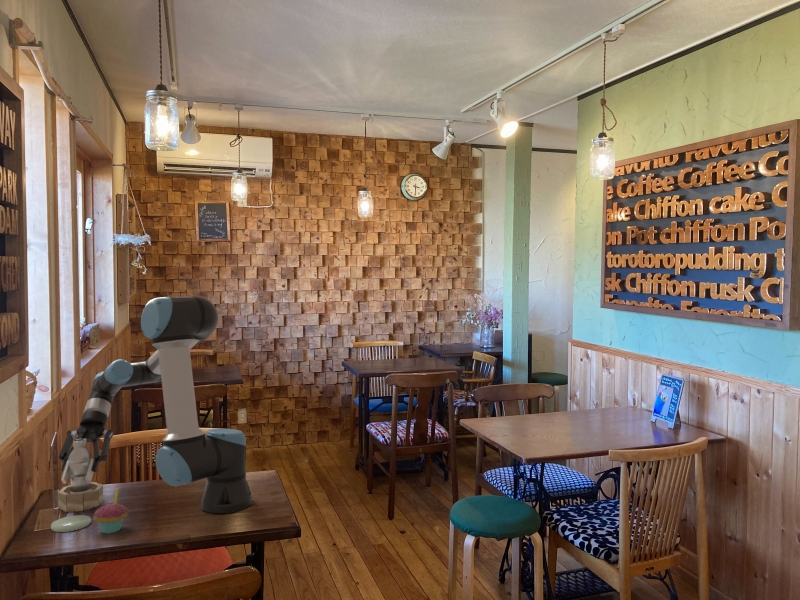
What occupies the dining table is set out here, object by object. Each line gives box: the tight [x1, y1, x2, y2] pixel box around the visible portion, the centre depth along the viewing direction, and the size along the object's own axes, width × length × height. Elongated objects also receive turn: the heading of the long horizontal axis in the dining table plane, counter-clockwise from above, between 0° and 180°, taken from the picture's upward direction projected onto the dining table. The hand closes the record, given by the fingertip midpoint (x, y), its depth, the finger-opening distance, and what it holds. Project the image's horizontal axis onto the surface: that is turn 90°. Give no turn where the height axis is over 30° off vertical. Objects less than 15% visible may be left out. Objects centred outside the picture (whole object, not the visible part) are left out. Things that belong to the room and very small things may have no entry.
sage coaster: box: [50, 514, 92, 533], centre depth 174 cm, size 10×10×1 cm
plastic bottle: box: [68, 438, 93, 494], centre depth 189 cm, size 6×7×20 cm
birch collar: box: [57, 481, 104, 513], centre depth 189 cm, size 11×11×5 cm
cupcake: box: [92, 485, 129, 534], centre depth 170 cm, size 9×8×12 cm
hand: (75, 481), depth 185 cm, fingers closed on plastic bottle, 6 cm apart
